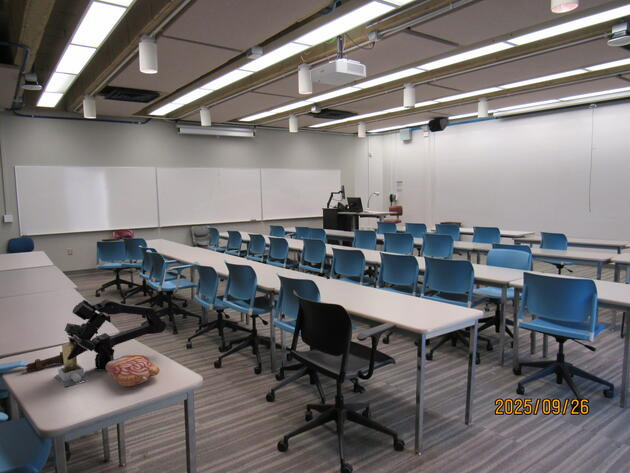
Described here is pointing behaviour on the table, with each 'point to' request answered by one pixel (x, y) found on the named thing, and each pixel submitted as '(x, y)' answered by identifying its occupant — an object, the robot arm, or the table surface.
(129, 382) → the anatomical model
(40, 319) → the table surface
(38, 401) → the table surface
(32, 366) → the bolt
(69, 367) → the gold metallic cylinder
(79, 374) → the manifold
